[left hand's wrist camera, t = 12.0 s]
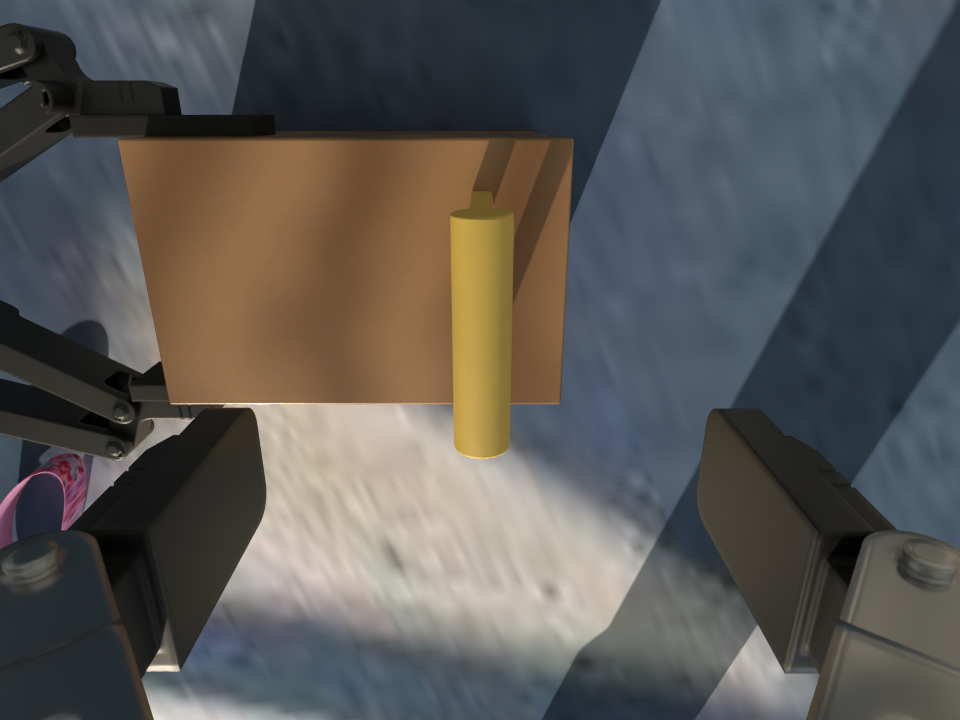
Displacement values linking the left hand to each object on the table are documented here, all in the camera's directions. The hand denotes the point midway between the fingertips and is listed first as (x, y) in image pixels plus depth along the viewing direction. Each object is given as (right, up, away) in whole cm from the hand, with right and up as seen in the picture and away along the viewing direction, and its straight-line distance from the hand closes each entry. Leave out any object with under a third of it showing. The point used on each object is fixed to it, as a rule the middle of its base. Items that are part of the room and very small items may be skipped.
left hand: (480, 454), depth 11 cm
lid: (-4, +5, +12) cm, 14 cm away
